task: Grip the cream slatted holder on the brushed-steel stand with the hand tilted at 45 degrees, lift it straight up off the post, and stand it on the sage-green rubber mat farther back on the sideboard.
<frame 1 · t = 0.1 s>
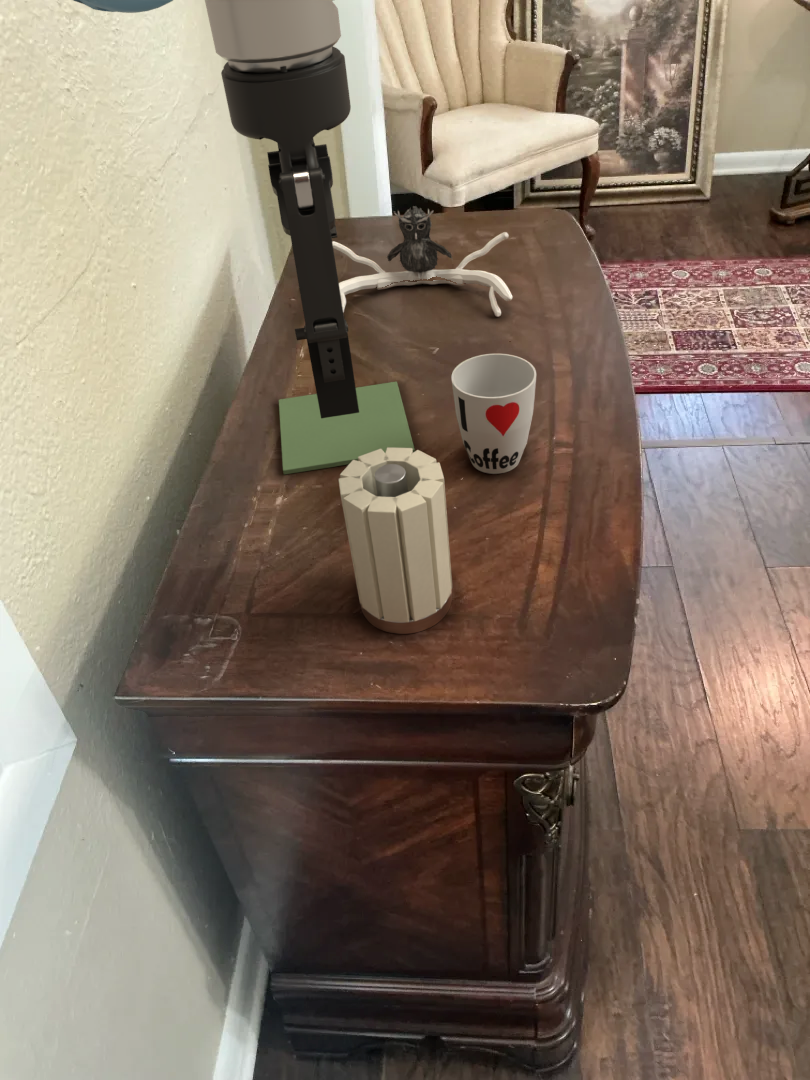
hand: (332, 364, 66), 21 cm above the table, tool pointing down, fingers open, 13 cm apart
cup: (495, 460, 90), on the table
stand: (406, 600, 75), on the table
cream slatted holder: (404, 587, 74), point 1 cm above the table, touching stand
owl: (420, 300, 118), on the table
mat: (343, 427, 96), on the table
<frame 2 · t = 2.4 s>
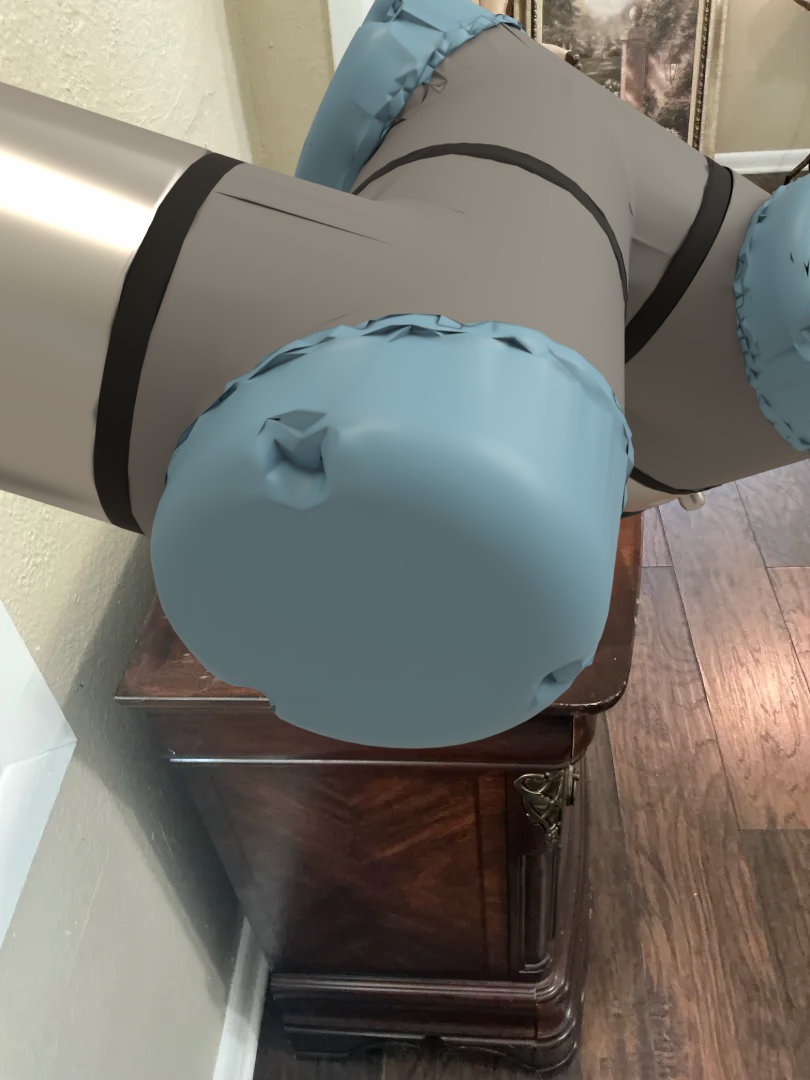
hand: (453, 514, 58), 17 cm above the table, tool tilted 45°, fingers open, 13 cm apart
nothing on the table moved.
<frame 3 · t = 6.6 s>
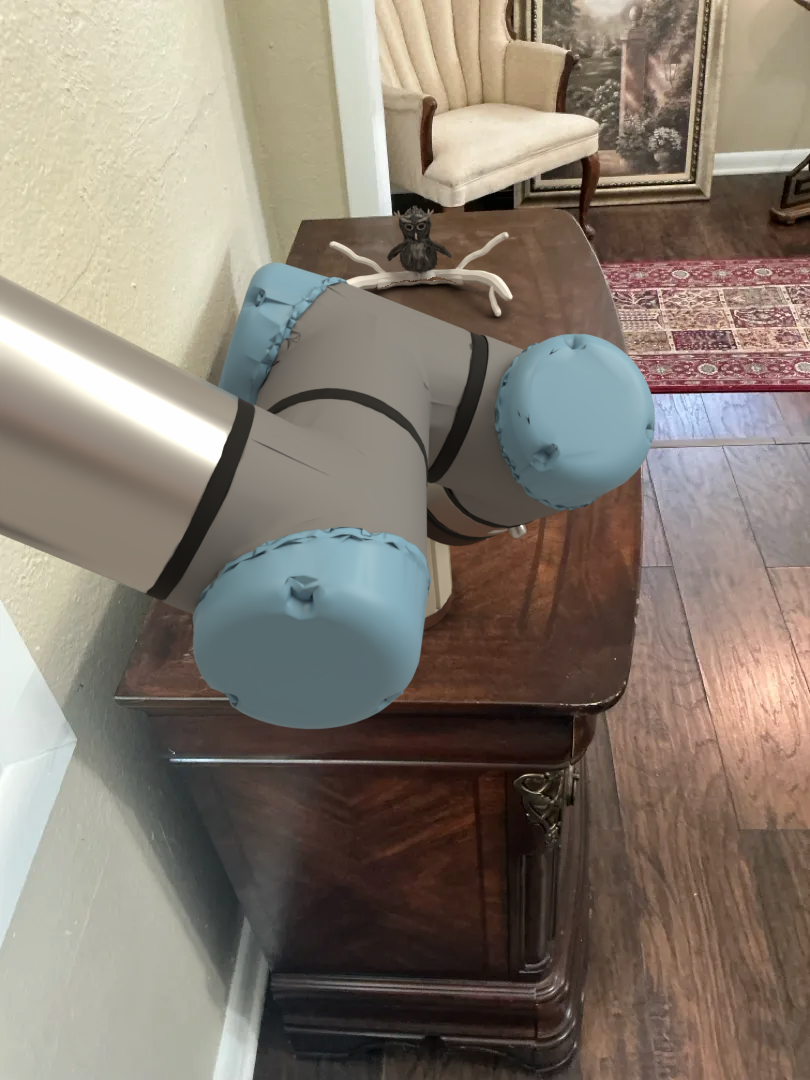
hand: (382, 530, 74), 6 cm above the table, tool tilted 45°, fingers closed on cream slatted holder, 8 cm apart
cream slatted holder: (404, 588, 74), point 2 cm above the table, touching gripper, stand
everything else where it was.
when the fingers open (5 cm above the table, at t = 19.8 s): cream slatted holder stays where it is, resting on mat.
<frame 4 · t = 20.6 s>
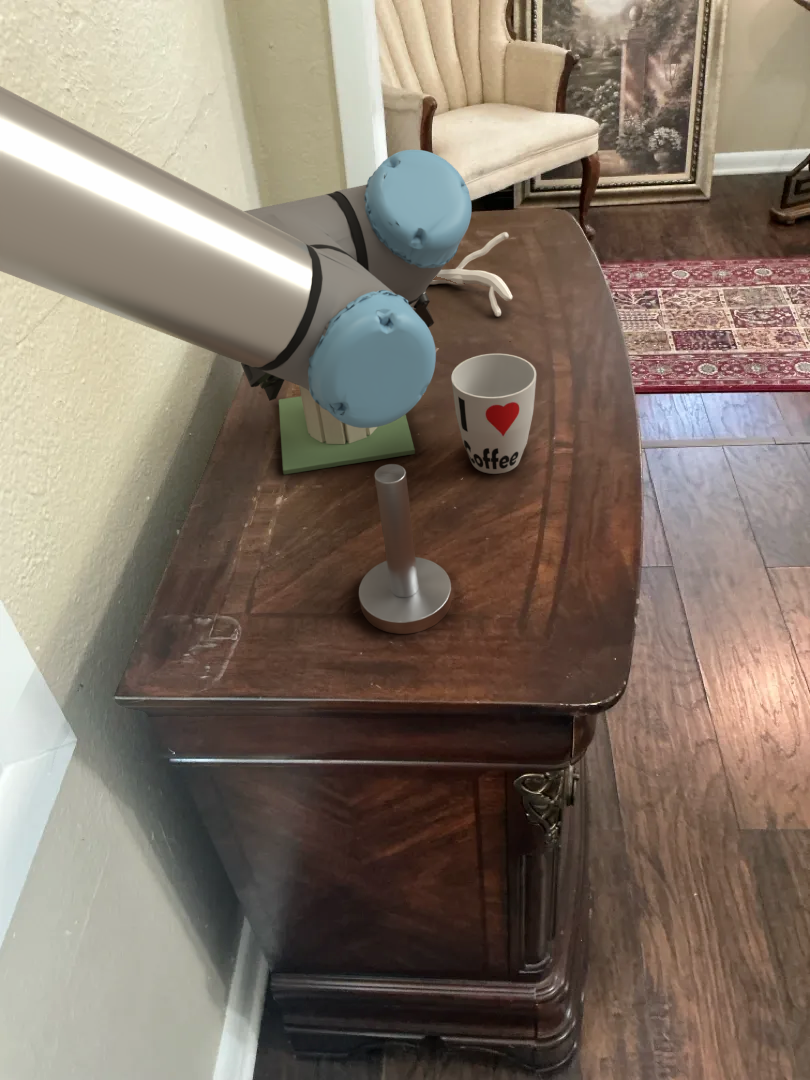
hand: (325, 368, 93), 7 cm above the table, tool tilted 45°, fingers open, 13 cm apart
cream slatted holder: (343, 423, 96), point 1 cm above the table, touching mat
everything else where it was.
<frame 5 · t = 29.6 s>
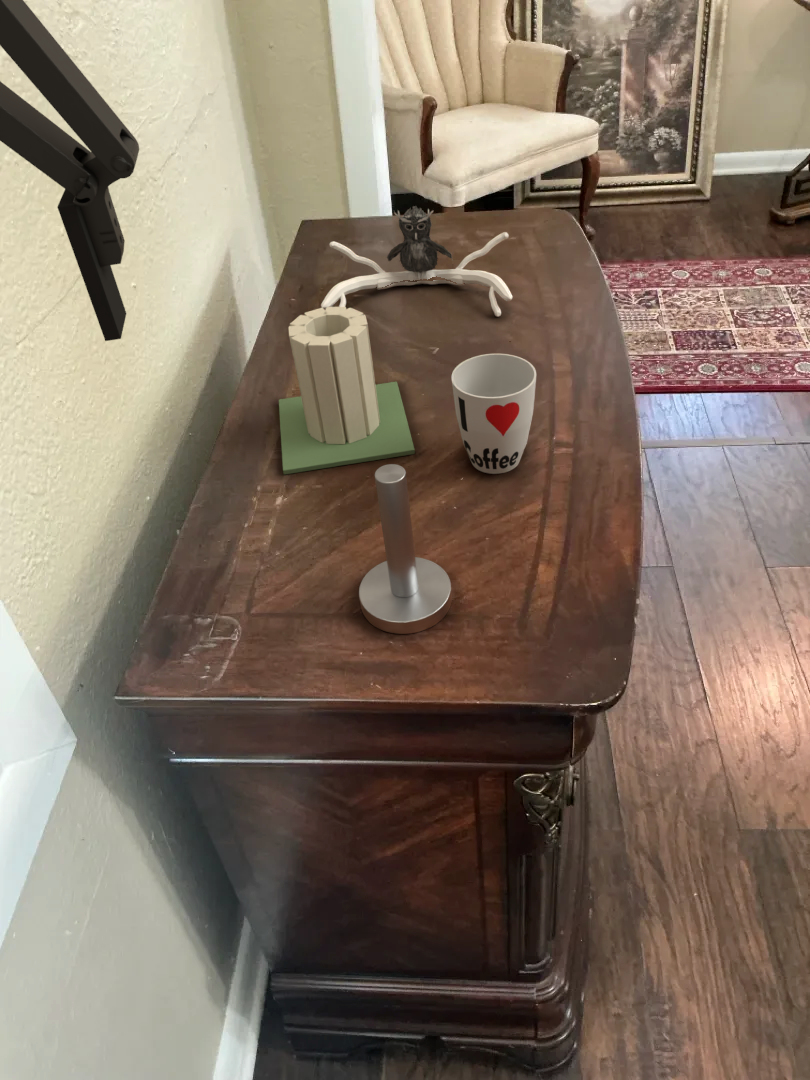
nothing on the table moved.
at the end: cream slatted holder inside the target area on the mat (0.1 cm from its centre), point 0.6 cm above the mat's base; cream slatted holder tilted 0°; the gripper is holding nothing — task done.
